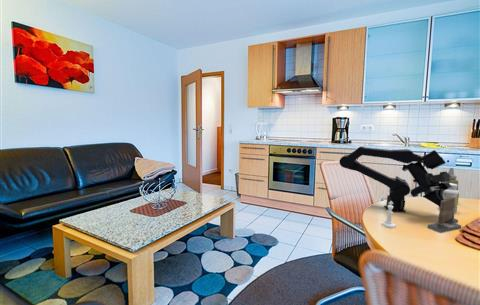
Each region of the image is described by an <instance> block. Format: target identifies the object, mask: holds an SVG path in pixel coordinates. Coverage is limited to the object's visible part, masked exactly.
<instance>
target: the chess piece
mask: <svg viewBox="0 0 480 305" xmlns="http://www.w3.org/2000/svg"><path fill="white" fill-rule="evenodd" d="M388 204H390V205H388V209H387V210H386V213H387V217H386V220H385V221H384V220H383V221H381V223H380V224H381V226H383V227H385V228H388V229H396V224H395V223H394V222H393V221H392V214H394V211H392V209H393V206H392V204H393V202H392V201H390V202H389V203H388Z"/></svg>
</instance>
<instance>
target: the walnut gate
mask: <svg viewBox="0 0 480 305" xmlns="http://www.w3.org/2000/svg"><path fill="white" fill-rule="evenodd" d="M456 201H457V197H455V196H451V197H450V198H448V199H445V200H442V201H441V205H440V209H439V213H438V219H437V223H440V224H443V223H445V222H447V221H449V220H451V219H455V213H456V212H455V208H456Z"/></svg>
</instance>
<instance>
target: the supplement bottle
mask: <svg viewBox="0 0 480 305" xmlns="http://www.w3.org/2000/svg"><path fill="white" fill-rule="evenodd" d="M449 184H450V185H451V186H452V187H451V188H449V189H447V190H445V191H443V193H442V195H443V199H444V200H445V199H448V198H450V197H451V196H455V197H457V201H456V208H455V213H457V212H458V204H459V198H460V191H459V189H458V190H456V188H457V186H458V187H459V184H458V185H457V184H453V183H449ZM438 210H440V207H439V206H438Z"/></svg>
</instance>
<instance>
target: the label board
mask: <svg viewBox="0 0 480 305" xmlns="http://www.w3.org/2000/svg"><path fill="white" fill-rule="evenodd" d="M458 223H459V219H457V218H454V219H451V220H449V221H447V222H445V223H443V224H440V223H438V222H436V223H429V224H427V229H429V230H432V231H435V232H438V233H440V234H441V233H445V232H449V231H451V232H452V231H455V230H459V229H461V228H462V225H461V224H458Z"/></svg>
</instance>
